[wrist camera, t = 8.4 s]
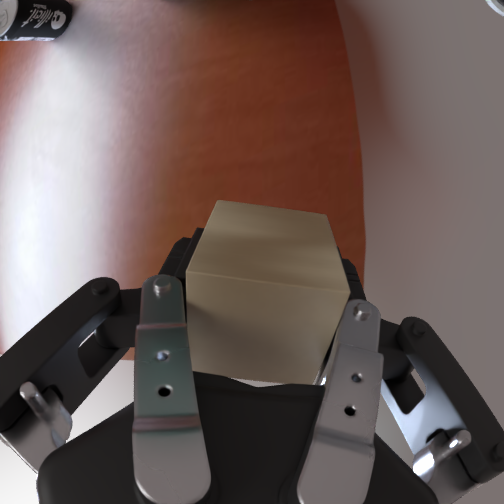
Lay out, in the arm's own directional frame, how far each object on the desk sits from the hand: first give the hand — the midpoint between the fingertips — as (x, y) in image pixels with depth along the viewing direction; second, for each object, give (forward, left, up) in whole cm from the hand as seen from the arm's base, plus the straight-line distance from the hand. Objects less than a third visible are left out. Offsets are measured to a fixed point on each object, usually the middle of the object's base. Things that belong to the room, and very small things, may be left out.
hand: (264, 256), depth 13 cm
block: (0, 0, 0) cm, 0 cm away
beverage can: (+32, -17, -27) cm, 45 cm away
